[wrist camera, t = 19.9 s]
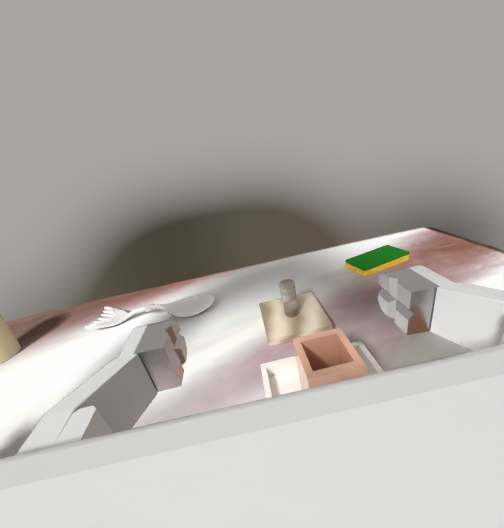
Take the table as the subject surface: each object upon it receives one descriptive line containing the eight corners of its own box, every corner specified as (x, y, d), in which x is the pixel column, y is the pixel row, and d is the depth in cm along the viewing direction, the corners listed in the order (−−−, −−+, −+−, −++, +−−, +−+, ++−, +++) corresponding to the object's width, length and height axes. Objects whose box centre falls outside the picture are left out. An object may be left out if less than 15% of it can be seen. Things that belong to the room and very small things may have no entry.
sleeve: (317, 439, 28) (307, 379, 24) (302, 393, 34) (292, 338, 29) (367, 427, 28) (366, 365, 24) (344, 383, 34) (339, 327, 30)
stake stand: (269, 346, 44) (260, 308, 40) (260, 309, 55) (252, 276, 51) (333, 330, 44) (329, 291, 40) (311, 296, 55) (307, 263, 51)
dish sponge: (410, 260, 61) (410, 251, 60) (364, 278, 58) (364, 269, 57) (387, 252, 67) (387, 244, 66) (345, 268, 64) (344, 259, 63)
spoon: (109, 315, 68) (104, 305, 67) (219, 297, 64) (215, 285, 63) (89, 337, 60) (82, 326, 58) (213, 318, 56) (208, 305, 55)
